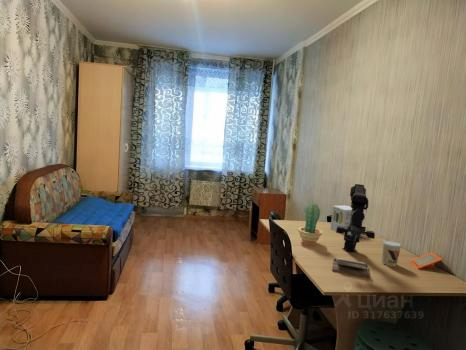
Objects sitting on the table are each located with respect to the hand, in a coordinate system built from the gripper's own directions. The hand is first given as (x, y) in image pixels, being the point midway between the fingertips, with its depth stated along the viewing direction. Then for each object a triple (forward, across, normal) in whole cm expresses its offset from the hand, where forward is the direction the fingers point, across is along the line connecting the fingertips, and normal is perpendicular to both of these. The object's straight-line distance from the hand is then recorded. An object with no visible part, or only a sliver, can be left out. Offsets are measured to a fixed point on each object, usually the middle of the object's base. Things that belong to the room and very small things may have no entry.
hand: (353, 248), depth 190 cm
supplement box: (+7, -4, +80) cm, 80 cm away
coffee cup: (+11, +21, +22) cm, 32 cm away
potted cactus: (+10, -25, +37) cm, 45 cm away
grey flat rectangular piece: (+9, 0, +1) cm, 9 cm away
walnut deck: (+12, 0, +1) cm, 12 cm away
